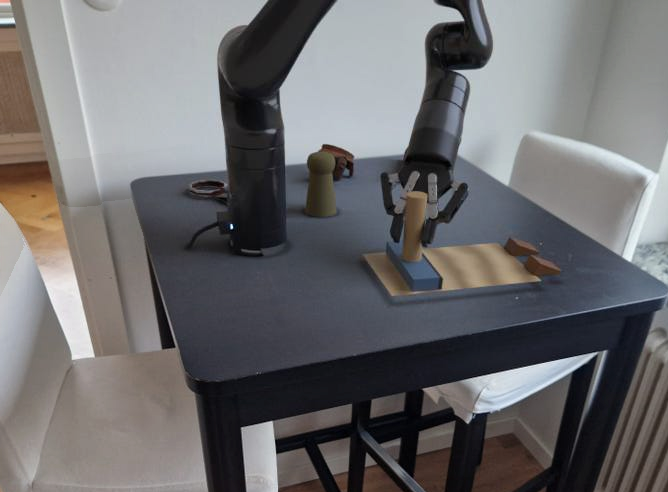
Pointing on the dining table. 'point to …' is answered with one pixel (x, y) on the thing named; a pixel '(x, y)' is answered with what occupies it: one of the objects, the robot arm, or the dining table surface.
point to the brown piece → (339, 161)
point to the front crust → (541, 266)
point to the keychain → (218, 194)
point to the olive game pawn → (320, 185)
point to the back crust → (520, 248)
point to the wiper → (414, 248)
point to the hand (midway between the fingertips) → (410, 242)
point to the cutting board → (457, 268)
